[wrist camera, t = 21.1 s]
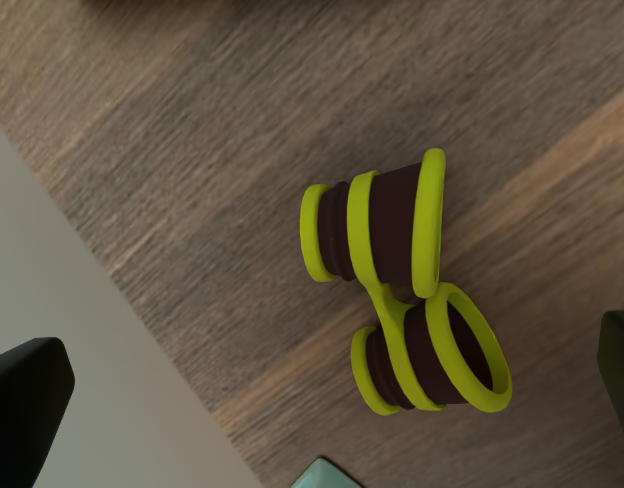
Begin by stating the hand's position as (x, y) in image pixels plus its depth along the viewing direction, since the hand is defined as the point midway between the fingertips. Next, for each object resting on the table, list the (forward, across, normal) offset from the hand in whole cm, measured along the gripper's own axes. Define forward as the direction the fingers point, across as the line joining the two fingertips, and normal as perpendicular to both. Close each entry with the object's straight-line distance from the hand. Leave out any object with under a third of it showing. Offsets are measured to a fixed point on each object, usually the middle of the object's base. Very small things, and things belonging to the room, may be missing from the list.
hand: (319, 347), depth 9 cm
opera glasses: (+12, -2, +5) cm, 13 cm away
